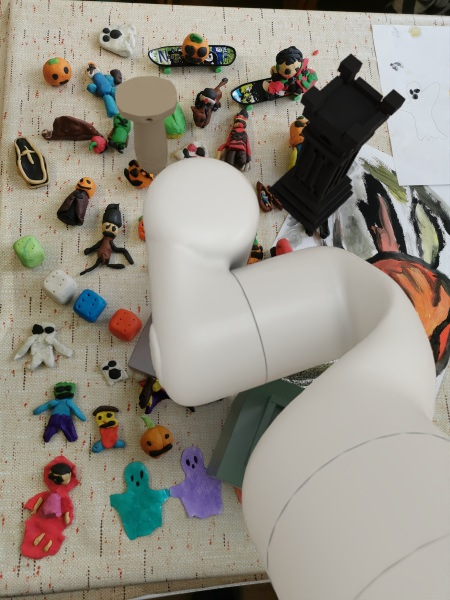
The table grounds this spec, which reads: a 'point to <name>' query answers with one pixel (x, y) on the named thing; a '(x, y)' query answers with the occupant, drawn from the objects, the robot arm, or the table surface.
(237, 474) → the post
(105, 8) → the table surface
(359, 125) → the chess piece
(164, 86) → the handle
